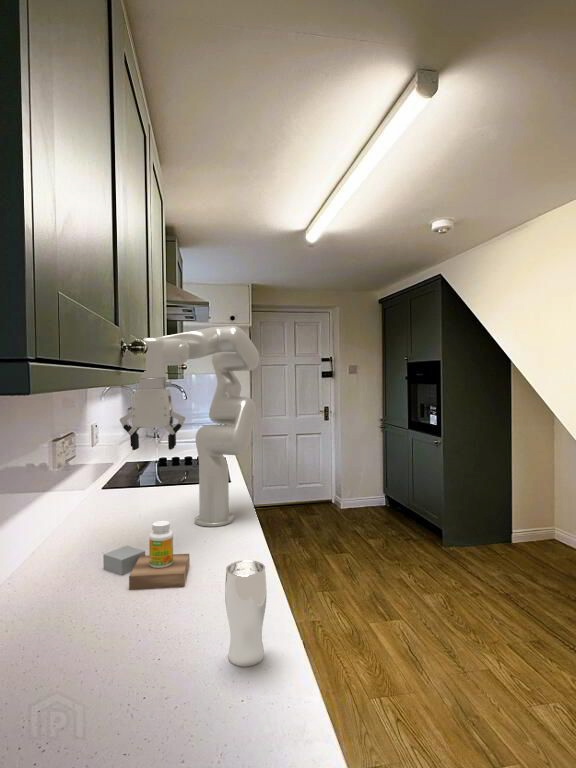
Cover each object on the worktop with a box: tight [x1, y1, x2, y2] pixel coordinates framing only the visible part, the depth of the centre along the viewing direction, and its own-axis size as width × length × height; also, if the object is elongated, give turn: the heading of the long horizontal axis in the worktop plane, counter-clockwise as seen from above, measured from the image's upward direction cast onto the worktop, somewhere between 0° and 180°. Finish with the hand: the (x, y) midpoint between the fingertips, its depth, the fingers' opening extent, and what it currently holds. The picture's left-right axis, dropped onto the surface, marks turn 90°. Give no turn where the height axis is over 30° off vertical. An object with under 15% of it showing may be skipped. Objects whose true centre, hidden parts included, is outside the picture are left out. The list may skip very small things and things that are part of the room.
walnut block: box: [128, 553, 191, 591], centre depth 110 cm, size 12×12×3 cm
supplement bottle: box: [148, 520, 174, 568], centre depth 110 cm, size 5×5×10 cm
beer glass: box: [224, 559, 267, 668], centre depth 79 cm, size 7×7×15 cm
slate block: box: [102, 545, 146, 577], centre depth 116 cm, size 7×7×4 cm
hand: (153, 449), depth 124 cm, fingers open, 9 cm apart
